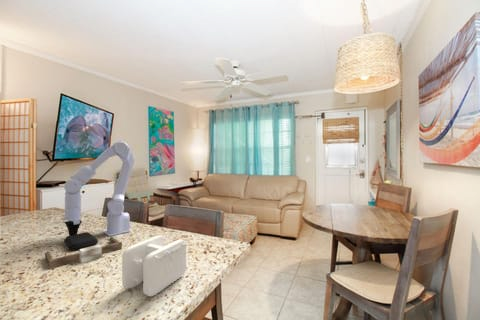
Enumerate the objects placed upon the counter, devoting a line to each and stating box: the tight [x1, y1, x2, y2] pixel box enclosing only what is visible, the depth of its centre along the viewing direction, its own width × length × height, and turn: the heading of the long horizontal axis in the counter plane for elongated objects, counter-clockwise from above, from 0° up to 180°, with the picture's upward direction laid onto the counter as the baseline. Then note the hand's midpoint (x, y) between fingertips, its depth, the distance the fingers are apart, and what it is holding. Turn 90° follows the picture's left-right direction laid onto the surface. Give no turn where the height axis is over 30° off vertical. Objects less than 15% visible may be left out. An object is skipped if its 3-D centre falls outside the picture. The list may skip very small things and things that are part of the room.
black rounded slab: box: [63, 231, 99, 251], centre depth 93 cm, size 11×3×15 cm
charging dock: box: [44, 236, 123, 270], centre depth 83 cm, size 22×14×4 cm, turn 138°
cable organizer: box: [121, 235, 187, 297], centre depth 65 cm, size 15×11×12 cm
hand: (73, 237), depth 98 cm, fingers closed
